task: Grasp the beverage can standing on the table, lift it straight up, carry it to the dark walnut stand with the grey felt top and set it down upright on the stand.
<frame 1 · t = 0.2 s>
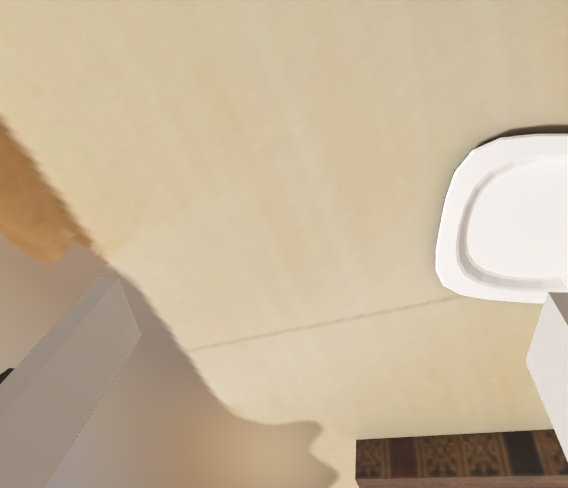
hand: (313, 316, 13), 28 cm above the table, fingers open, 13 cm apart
plate: (534, 220, 39), on the table
book: (462, 476, 64), on the table
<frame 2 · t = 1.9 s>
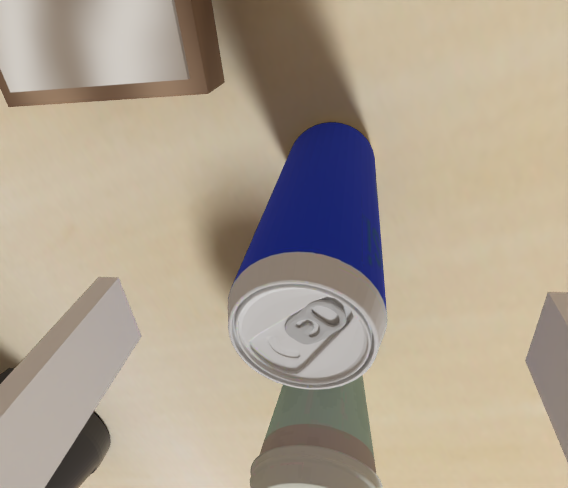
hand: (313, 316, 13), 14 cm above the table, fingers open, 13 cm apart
beverage can: (331, 160, 25), on the table
coffee cup: (326, 360, 34), on the table
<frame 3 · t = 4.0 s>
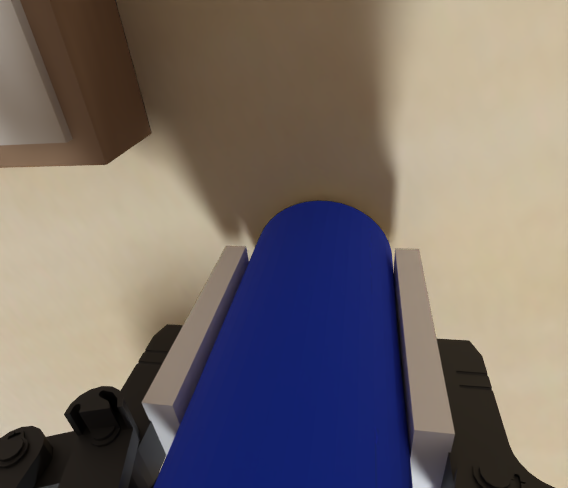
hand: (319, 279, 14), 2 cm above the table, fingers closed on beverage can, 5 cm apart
beverage can: (324, 249, 16), on the table, touching gripper
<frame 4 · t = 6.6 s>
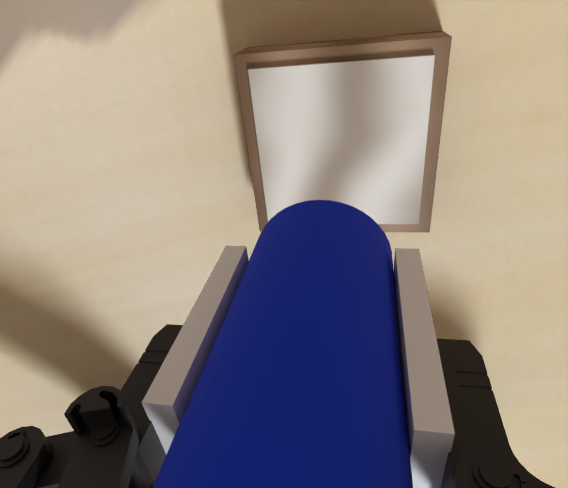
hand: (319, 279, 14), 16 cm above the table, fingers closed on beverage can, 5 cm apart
beverage can: (324, 248, 16), point 14 cm above the table, touching gripper
stand: (341, 135, 28), on the table
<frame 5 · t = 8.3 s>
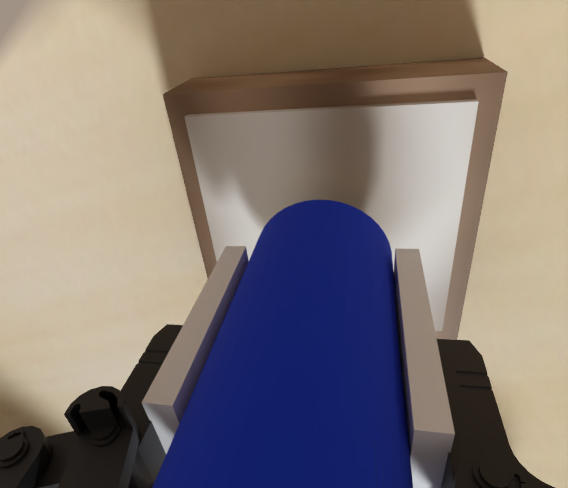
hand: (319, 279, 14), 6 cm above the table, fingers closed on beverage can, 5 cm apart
beverage can: (324, 248, 16), point 4 cm above the table, touching gripper
stand: (332, 200, 20), on the table
when the fingers open (6 cm above the table, at t = 9.1 s): beverage can stays where it is, resting on stand.
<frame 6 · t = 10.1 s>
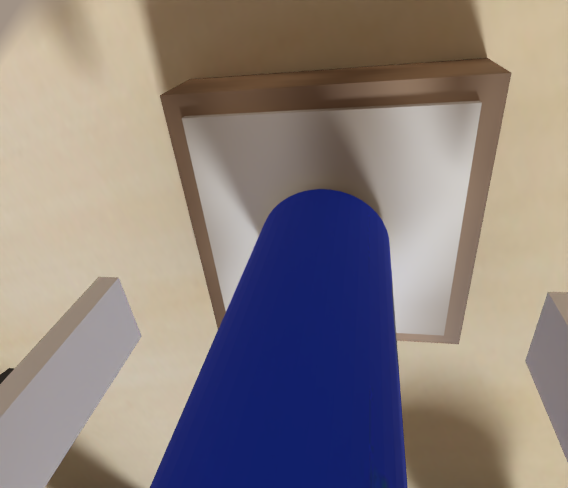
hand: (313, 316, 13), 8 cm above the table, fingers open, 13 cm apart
beverage can: (325, 236, 17), point 3 cm above the table, touching stand
stand: (332, 202, 19), on the table
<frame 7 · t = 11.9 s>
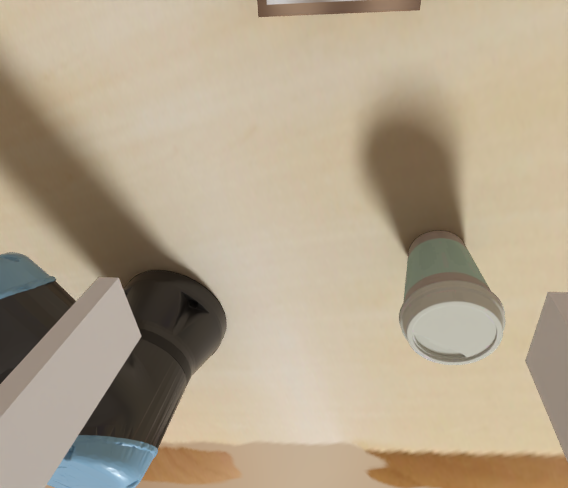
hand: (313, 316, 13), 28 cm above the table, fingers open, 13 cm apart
coffee cup: (436, 252, 43), on the table
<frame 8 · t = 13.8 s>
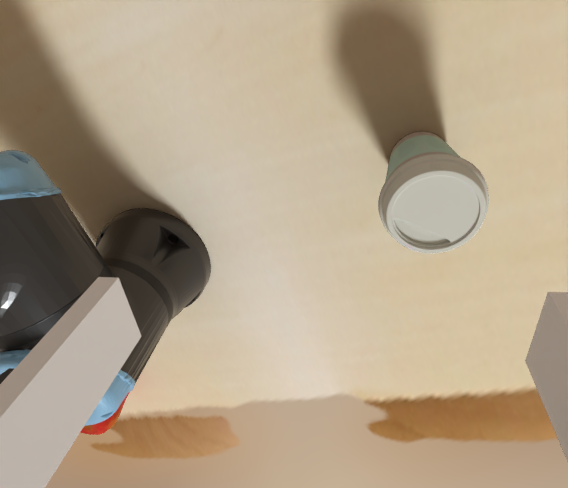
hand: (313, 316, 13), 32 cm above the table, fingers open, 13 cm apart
coffee cup: (418, 158, 41), on the table
apple: (117, 370, 71), on the table
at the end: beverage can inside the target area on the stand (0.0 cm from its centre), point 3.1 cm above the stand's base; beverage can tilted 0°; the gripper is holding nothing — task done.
